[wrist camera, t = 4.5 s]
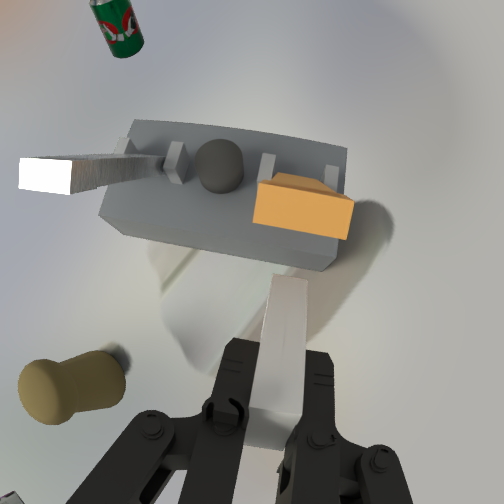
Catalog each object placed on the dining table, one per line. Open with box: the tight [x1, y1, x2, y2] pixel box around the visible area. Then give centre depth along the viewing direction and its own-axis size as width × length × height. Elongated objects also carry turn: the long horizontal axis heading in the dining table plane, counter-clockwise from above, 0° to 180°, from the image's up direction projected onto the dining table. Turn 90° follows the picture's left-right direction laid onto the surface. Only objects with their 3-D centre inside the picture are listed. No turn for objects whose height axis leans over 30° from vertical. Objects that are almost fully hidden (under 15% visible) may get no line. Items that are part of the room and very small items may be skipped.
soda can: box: [89, 0, 144, 58], centre depth 33 cm, size 5×5×12 cm
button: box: [194, 139, 244, 194], centre depth 24 cm, size 4×4×2 cm
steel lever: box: [19, 154, 166, 194], centre depth 19 cm, size 2×4×14 cm
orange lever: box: [252, 172, 355, 240], centre depth 19 cm, size 2×4×14 cm, turn 78°
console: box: [99, 120, 347, 272], centre depth 28 cm, size 10×20×9 cm, turn 79°
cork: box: [18, 350, 126, 425], centre depth 23 cm, size 6×6×11 cm
